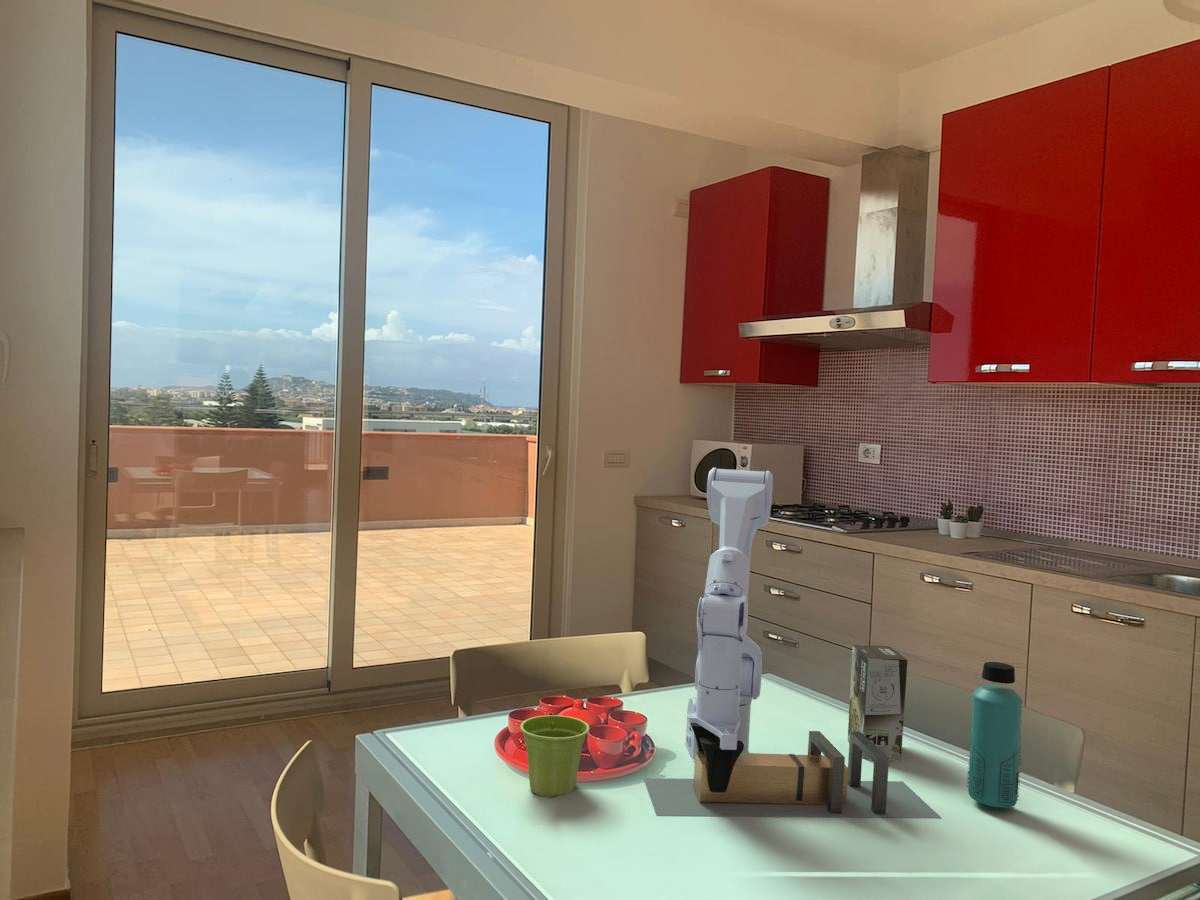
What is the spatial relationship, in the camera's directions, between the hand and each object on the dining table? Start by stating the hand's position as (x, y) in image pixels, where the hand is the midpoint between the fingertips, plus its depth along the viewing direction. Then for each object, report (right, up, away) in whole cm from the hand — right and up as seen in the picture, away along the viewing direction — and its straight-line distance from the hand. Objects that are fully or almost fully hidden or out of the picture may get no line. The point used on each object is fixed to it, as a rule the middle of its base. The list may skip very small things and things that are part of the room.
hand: (713, 783), depth 120 cm
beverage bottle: (+38, -4, +2) cm, 39 cm away
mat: (+10, -3, +1) cm, 11 cm away
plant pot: (-22, -1, +1) cm, 22 cm away
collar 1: (+15, -3, +1) cm, 16 cm away
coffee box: (+28, -3, +22) cm, 36 cm away
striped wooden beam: (+8, -2, +1) cm, 8 cm away
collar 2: (+21, -3, +2) cm, 21 cm away
